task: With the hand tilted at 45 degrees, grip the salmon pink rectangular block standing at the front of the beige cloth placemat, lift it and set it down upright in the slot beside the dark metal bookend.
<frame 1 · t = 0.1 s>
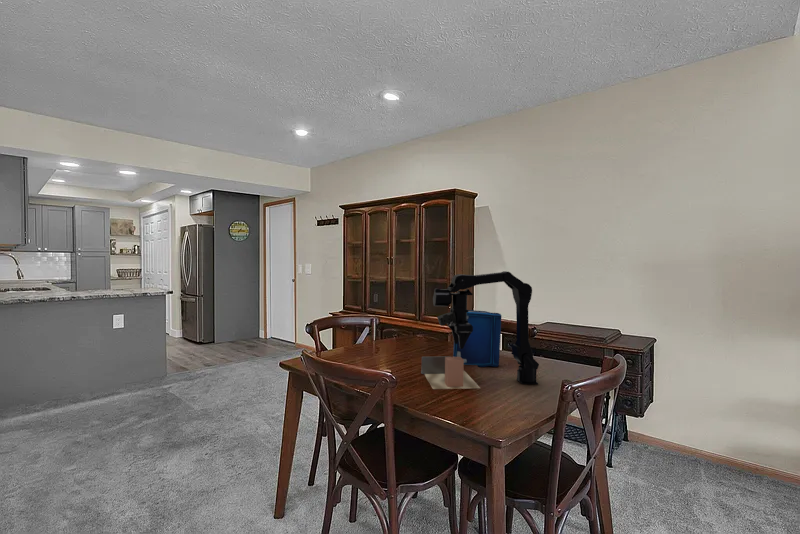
hand: (458, 346, 166), 15 cm above the table, tool pointing down, fingers open, 9 cm apart
beige cloth placemat: (449, 381, 168), on the table
book: (476, 365, 195), on the table
bookend: (435, 373, 176), resting on beige cloth placemat
salmon pink rectangular block: (453, 384, 161), point 1 cm above the table, touching beige cloth placemat
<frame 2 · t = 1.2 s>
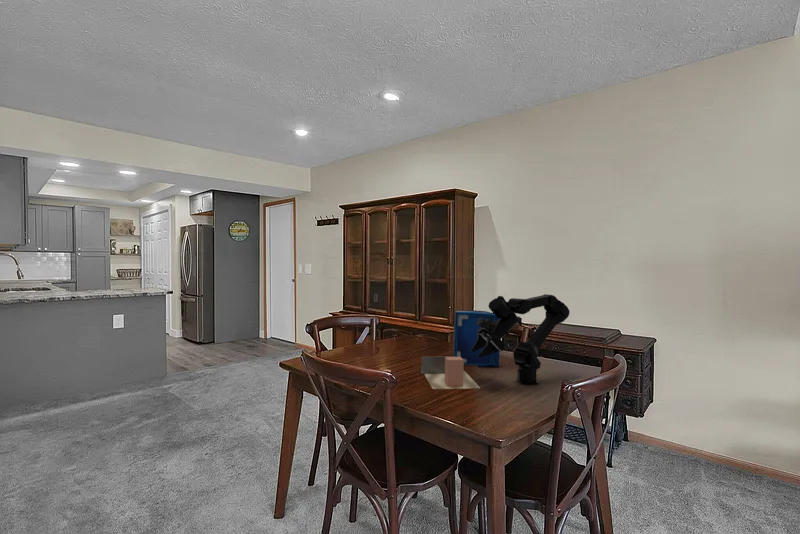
hand: (475, 354, 162), 13 cm above the table, tool tilted 45°, fingers open, 9 cm apart
nothing on the table moved.
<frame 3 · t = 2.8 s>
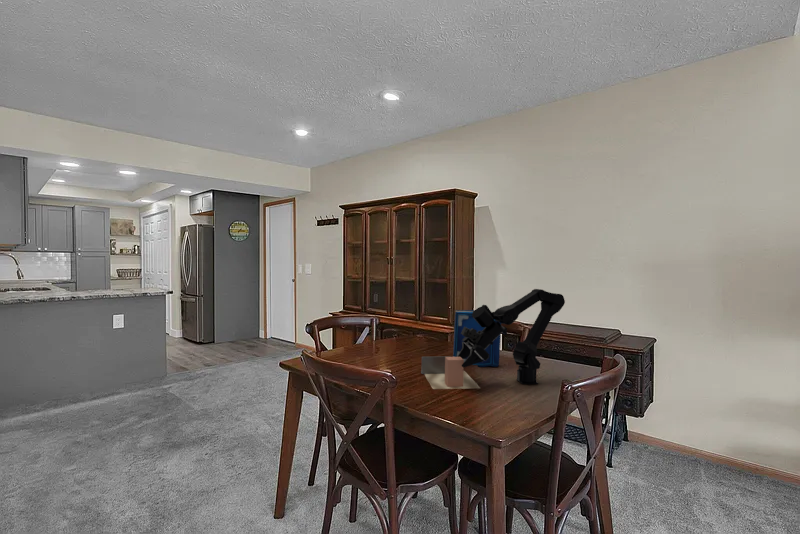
hand: (459, 363, 161), 9 cm above the table, tool tilted 45°, fingers open, 9 cm apart
nothing on the table moved.
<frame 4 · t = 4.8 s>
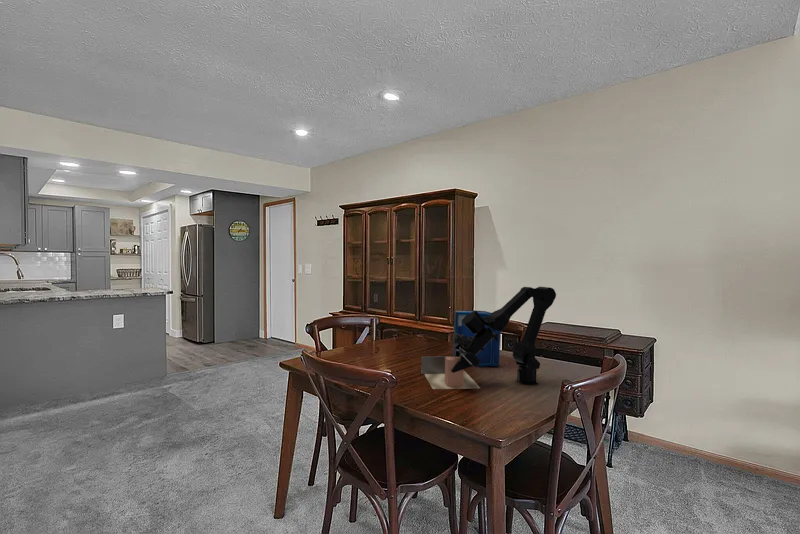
hand: (450, 370, 161), 7 cm above the table, tool tilted 45°, fingers closed on salmon pink rectangular block, 5 cm apart
salmon pink rectangular block: (453, 384, 161), point 1 cm above the table, touching gripper, beige cloth placemat
everything else where it was.
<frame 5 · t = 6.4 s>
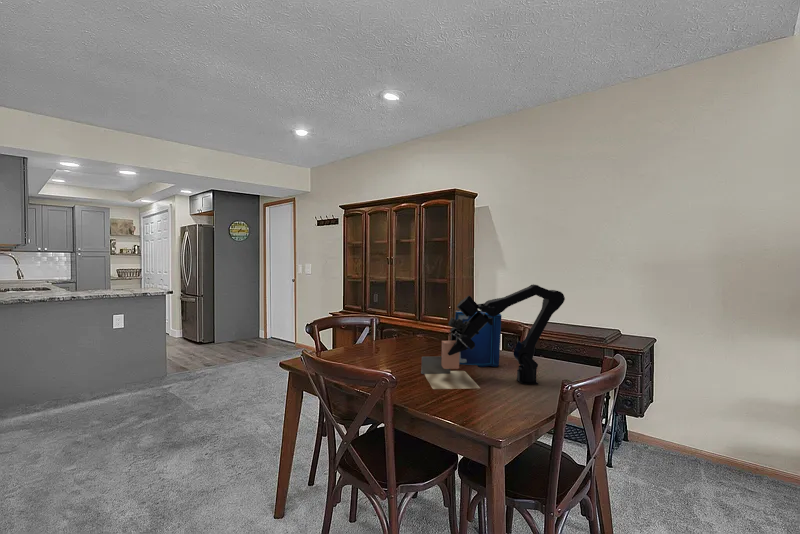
hand: (447, 353, 167), 11 cm above the table, tool tilted 45°, fingers closed on salmon pink rectangular block, 5 cm apart
salmon pink rectangular block: (450, 367, 168), point 6 cm above the table, touching gripper
everything else where it was.
when the fingers open (7 cm above the table, at t = 8.5 s): salmon pink rectangular block stays where it is, resting on beige cloth placemat.
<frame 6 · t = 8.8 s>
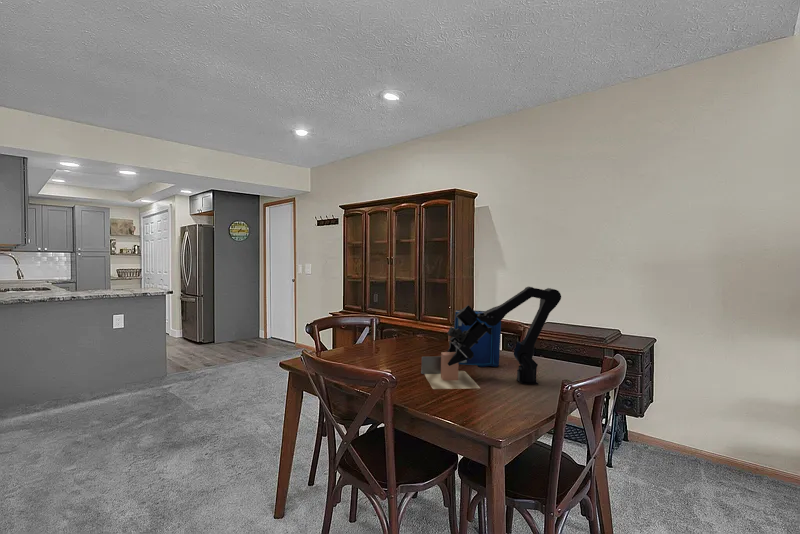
hand: (446, 362, 169), 8 cm above the table, tool tilted 45°, fingers open, 8 cm apart
salmon pink rectangular block: (449, 378, 169), point 1 cm above the table, touching beige cloth placemat
everything else where it was.
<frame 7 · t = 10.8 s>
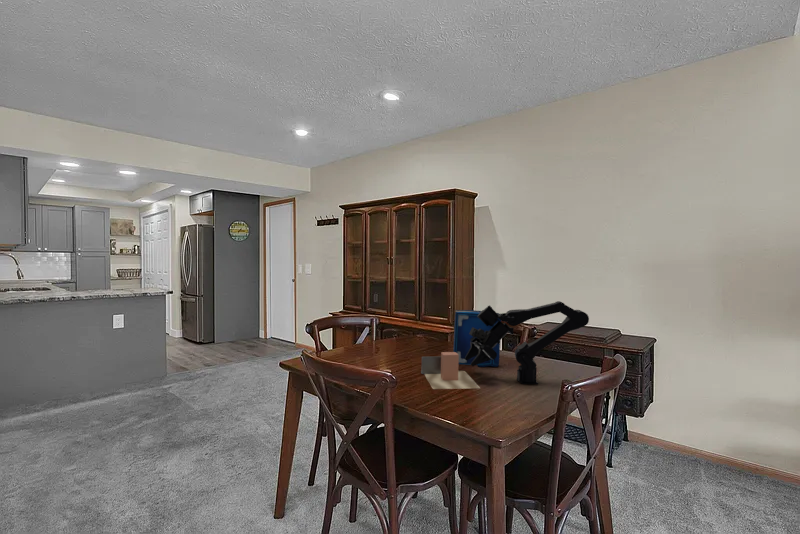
hand: (468, 362, 170), 7 cm above the table, tool tilted 45°, fingers open, 9 cm apart
nothing on the table moved.
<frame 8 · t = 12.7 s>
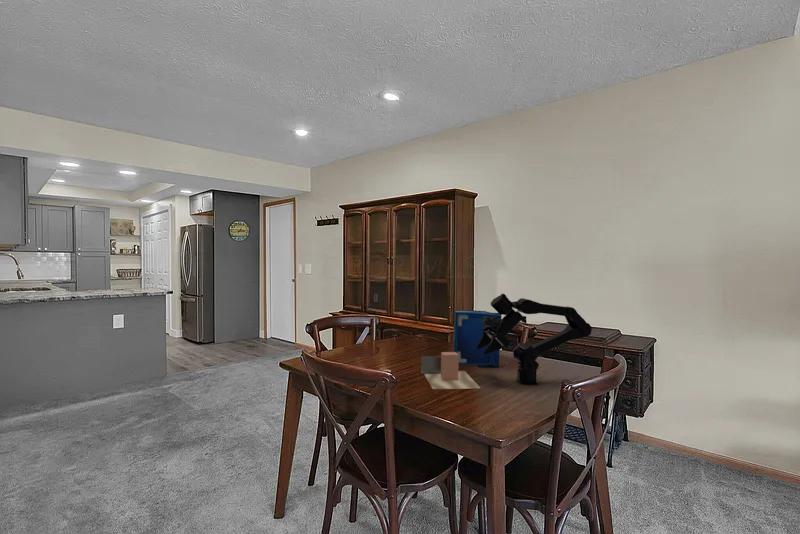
hand: (480, 351, 167), 13 cm above the table, tool tilted 45°, fingers open, 9 cm apart
nothing on the table moved.
at the end: salmon pink rectangular block inside the target area (0.0 cm from its centre), point 1.0 cm above the table; salmon pink rectangular block tilted 0°; the gripper is holding nothing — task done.
